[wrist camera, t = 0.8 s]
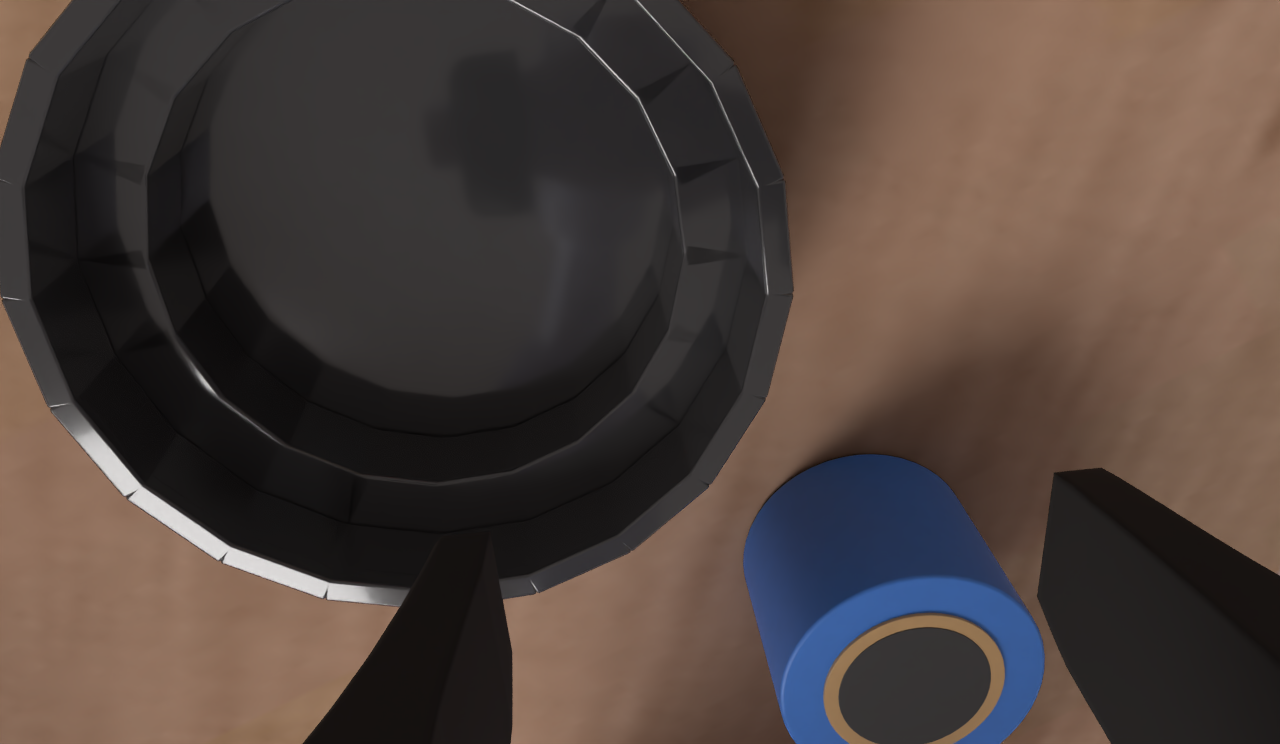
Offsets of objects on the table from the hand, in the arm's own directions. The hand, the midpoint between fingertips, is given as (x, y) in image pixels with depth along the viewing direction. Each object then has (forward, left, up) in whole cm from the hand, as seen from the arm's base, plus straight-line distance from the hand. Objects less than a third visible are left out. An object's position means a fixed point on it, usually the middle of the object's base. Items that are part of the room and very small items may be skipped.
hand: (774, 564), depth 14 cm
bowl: (+1, +5, -10) cm, 12 cm away
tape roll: (-6, -6, -10) cm, 13 cm away
